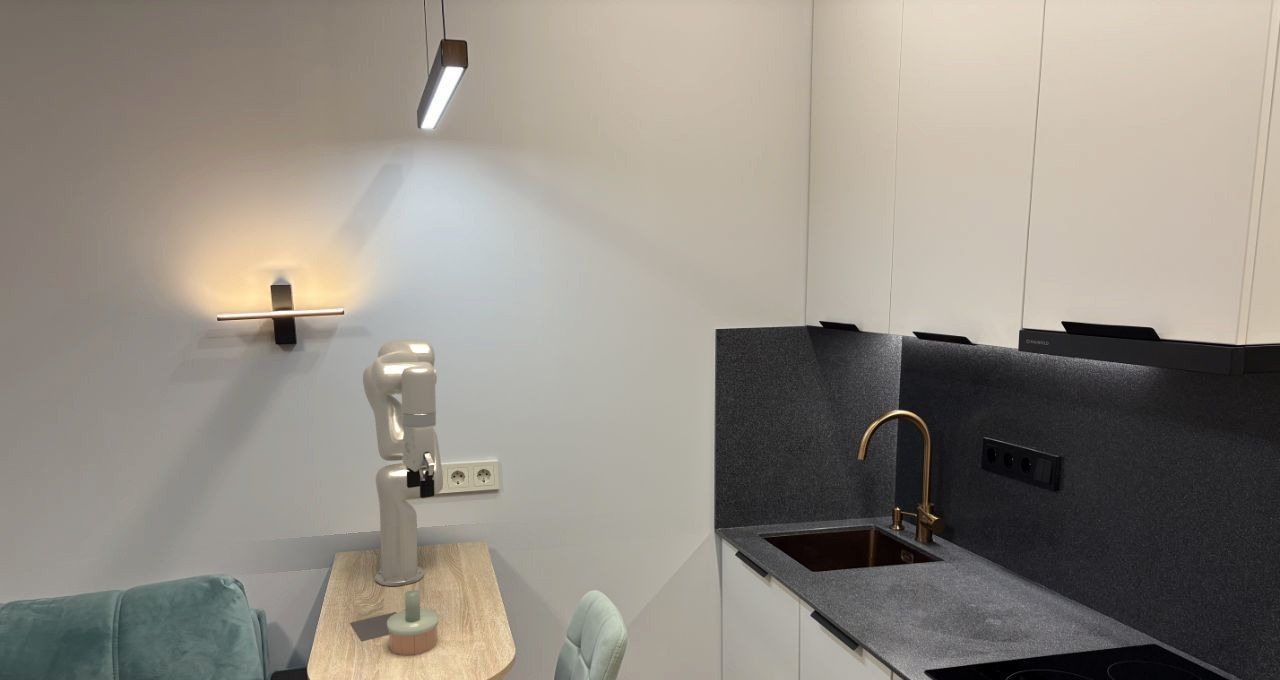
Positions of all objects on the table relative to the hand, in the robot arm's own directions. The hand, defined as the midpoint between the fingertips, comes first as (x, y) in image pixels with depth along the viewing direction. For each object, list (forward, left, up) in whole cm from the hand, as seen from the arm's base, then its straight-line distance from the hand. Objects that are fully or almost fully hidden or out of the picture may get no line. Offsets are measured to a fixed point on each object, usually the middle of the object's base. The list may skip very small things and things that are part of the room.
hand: (420, 491), depth 180 cm
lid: (+9, -5, -27) cm, 29 cm away
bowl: (+9, -5, -32) cm, 34 cm away
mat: (-4, -9, -32) cm, 34 cm away
